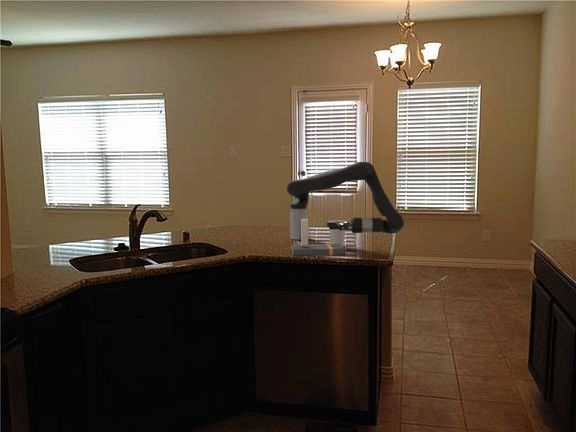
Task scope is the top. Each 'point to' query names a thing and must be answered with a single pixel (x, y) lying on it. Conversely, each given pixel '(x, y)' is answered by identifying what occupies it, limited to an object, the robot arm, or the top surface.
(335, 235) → the foam cup
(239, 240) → the top surface
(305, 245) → the fader tab
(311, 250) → the console
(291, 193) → the robot arm
